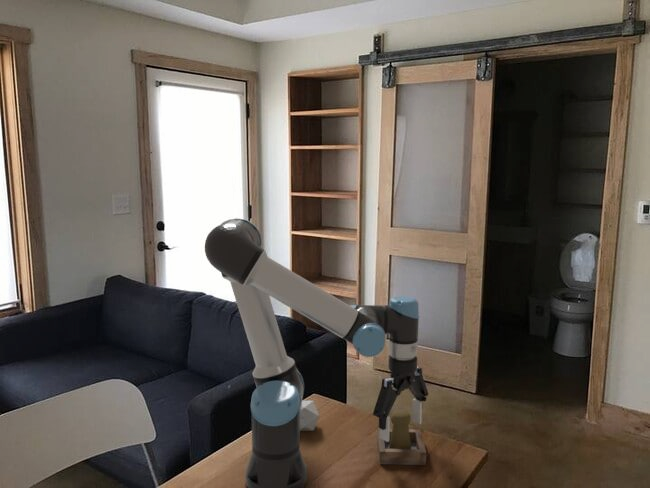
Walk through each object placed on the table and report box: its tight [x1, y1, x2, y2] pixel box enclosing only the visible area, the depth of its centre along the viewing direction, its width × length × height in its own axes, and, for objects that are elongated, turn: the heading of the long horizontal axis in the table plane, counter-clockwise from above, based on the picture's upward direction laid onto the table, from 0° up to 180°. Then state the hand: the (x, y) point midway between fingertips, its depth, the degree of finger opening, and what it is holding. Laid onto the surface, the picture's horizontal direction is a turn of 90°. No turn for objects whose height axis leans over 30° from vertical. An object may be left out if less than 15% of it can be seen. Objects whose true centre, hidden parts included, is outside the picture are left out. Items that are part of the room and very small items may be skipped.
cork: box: [389, 409, 412, 449], centre depth 145 cm, size 6×6×11 cm
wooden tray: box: [376, 428, 427, 466], centre depth 146 cm, size 12×12×4 cm
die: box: [300, 400, 320, 432], centre depth 158 cm, size 8×9×10 cm
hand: (401, 430), depth 145 cm, fingers open, 13 cm apart
